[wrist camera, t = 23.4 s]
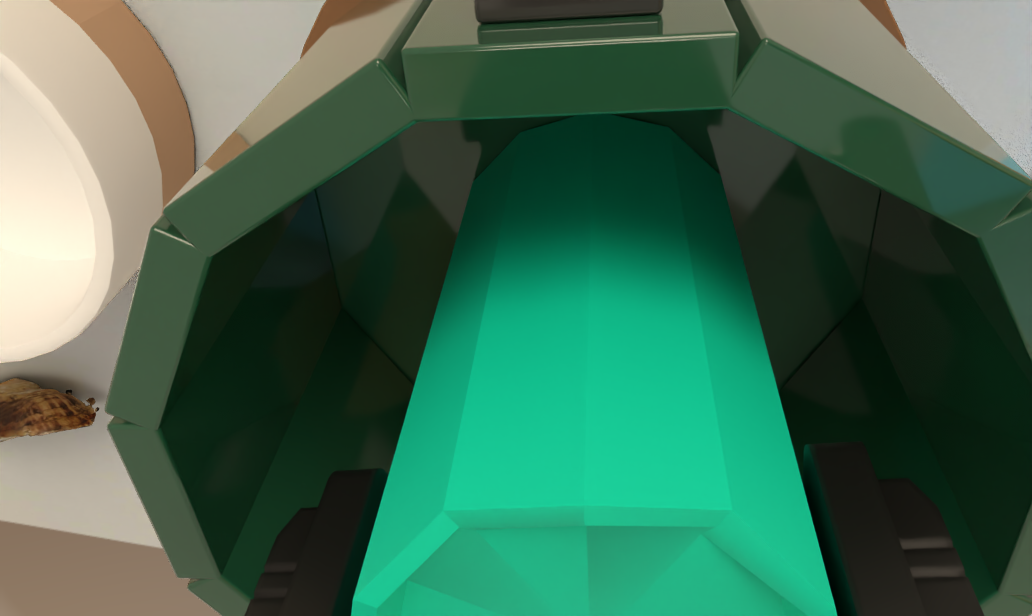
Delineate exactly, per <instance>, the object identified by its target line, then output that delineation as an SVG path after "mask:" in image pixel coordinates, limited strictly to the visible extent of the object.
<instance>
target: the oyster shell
mask: <svg viewBox="0 0 1032 616" xmlns="http://www.w3.org/2000/svg"><path fill="white" fill-rule="evenodd" d="M71 393H72V390H66V394H65V393H60V392H59V391H57V390H55V389H41V388H40V387H39V385H37V384H36V383H34V382H30V381H26V380H23V379H20V378H14V379H11V380H8V381H6V382H3V383H0V442H3V441H6V440H9V439H13V438H15V437H22V436H27V435H29V436H35V435H38V436H43V435H45V434H50V433H54V432H59V431H65V430H71V429H77V428H81V427H86V426H90V425H92V424H93V422H94V419H95V416H96V412H97V411H99V408H98V407H97V408H96V409H95V412H94V409H93V408H92V405H93V404H95V399H94V398H89V399H88V400H86V401H87V402H88V403H90V405H88V406H85V403H83V402H82V401H80V400H78V399H77V398H76V397H74V396H73V395H71Z"/></svg>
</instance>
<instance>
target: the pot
mask: <svg viewBox="0 0 1032 616" xmlns="http://www.w3.org/2000/svg"><path fill="white" fill-rule="evenodd" d="M592 114H611V115H615V116H620V117H624V118H629V119H634V120H638V121H643V122H647V123H652V124H656V125H661V126H666V127H669V128H670V129H671V130H672V131H673V132H674V133H675V134H677V135H678V136H679V137H680V138H681V139H682V140H683V141H684V142H685V143H686V144H687V145H688V146H690V147H691V148H692V149H693V150H694V151H695V152H696V153H697V154H698V155H699V156H700V157H701V158H702V159H704V160H705V161H706V162H707V163H708V164H709V165H710V166H711V167H712V168H713V169H714V170H715V171H716V172H718V173H719V174H720V175H721V178H722V182H723V186H724V189H725V193H726V197H727V201H728V205H729V208H730V212H731V216H732V220H733V223H734V227H735V231H736V235H737V238H738V242H739V246H740V250H741V253H742V257H743V261H744V265H745V269H746V272H747V276H748V280H749V284H750V287H751V291H752V295H753V299H754V302H755V306H756V310H757V314H758V318H759V321H760V325H761V329H762V333H763V336H764V340H765V344H766V348H767V351H768V355H769V359H770V363H771V366H772V370H773V374H774V378H775V382H776V385H777V389H778V393H779V397H780V400H781V404H782V408H783V412H784V415H785V419H786V423H787V427H788V430H789V434H790V438H791V442H792V446H793V449H794V453H795V457H796V461H797V464H798V468H799V472H800V476H801V479H802V483H803V458H804V447H805V445H806V444H821V443H838V442H855V441H861V442H863V444H864V445H865V447H866V449H867V452H868V455H869V457H870V460H871V463H872V466H873V468H874V471H875V474H876V477H877V479H896V478H909V479H910V480H911V481H912V482H913V483H914V484H915V485H916V486H917V487H918V488H919V489H920V490H921V491H922V492H923V493H924V494H925V495H926V496H927V497H928V498H929V499H930V500H932V501H933V502H934V503H935V504H936V505H937V506H938V508H939V511H940V513H941V515H942V518H943V520H944V522H945V525H946V527H947V529H948V532H949V534H950V536H951V539H952V541H953V547H954V548H956V550H957V553H958V555H959V557H960V560H961V562H962V564H963V567H964V569H965V575H966V577H968V578H969V581H970V583H971V585H972V588H973V590H974V592H975V595H976V597H977V599H978V602H979V604H980V606H981V609H982V611H983V613H984V616H1030V615H1031V614H1032V179H1031V178H1030V177H1029V176H1028V175H1027V174H1026V173H1025V172H1024V170H1023V169H1022V168H1021V167H1020V166H1019V165H1018V164H1017V163H1016V162H1015V161H1014V160H1013V159H1012V158H1011V157H1010V156H1009V155H1008V154H1007V153H1006V152H1005V151H1004V150H1003V149H1002V148H1001V147H1000V146H999V145H998V144H997V143H996V142H995V141H994V140H993V138H992V137H991V136H990V135H989V134H988V133H987V132H986V131H985V130H984V129H983V128H982V127H981V126H980V125H979V124H978V123H977V122H976V121H975V120H974V119H973V118H972V117H971V116H970V115H969V114H968V113H967V112H966V111H965V110H964V109H963V108H962V106H961V105H960V104H959V103H958V102H957V101H956V100H955V99H954V98H953V97H952V96H951V95H950V94H949V93H948V92H947V91H946V90H945V89H944V88H943V87H942V86H941V85H940V84H939V83H938V82H937V81H936V80H935V79H934V78H933V77H932V76H931V74H930V73H929V72H928V71H927V70H926V69H925V68H924V67H923V66H922V65H921V64H920V63H919V62H918V61H917V60H916V59H915V58H914V57H913V56H912V55H911V54H910V53H909V52H908V51H907V50H906V49H905V48H904V47H903V46H902V45H901V44H900V42H899V41H898V40H897V39H896V38H895V37H894V36H893V35H892V34H891V33H890V32H889V31H888V30H887V29H886V28H885V27H884V26H883V25H882V24H881V23H880V22H879V21H878V20H877V19H876V18H875V17H874V16H873V15H872V14H871V13H870V11H869V10H868V9H867V8H866V7H865V6H864V5H863V4H862V3H861V2H860V1H859V0H363V1H361V2H360V3H359V4H357V5H356V6H355V7H353V8H352V9H351V10H349V11H348V12H347V13H345V14H344V15H343V16H341V17H340V18H339V19H337V20H336V21H335V22H334V23H333V24H332V25H331V26H330V27H329V28H328V30H327V31H326V32H325V33H324V34H323V35H322V36H321V37H320V38H319V39H318V40H317V42H316V43H315V44H314V45H313V46H312V47H311V48H310V49H309V50H308V51H307V52H306V54H305V55H304V56H303V57H302V58H301V59H300V60H299V61H298V62H297V63H296V64H295V65H294V67H293V68H292V69H291V70H290V71H289V72H288V73H287V74H286V75H285V76H284V77H283V79H282V80H281V81H280V82H279V83H278V84H277V85H276V86H275V87H274V88H273V89H272V91H271V92H270V93H269V94H268V95H267V96H266V97H265V98H264V99H263V100H262V101H261V103H260V104H259V105H258V106H257V107H256V108H255V109H254V110H253V111H252V112H251V113H250V114H249V116H248V117H247V118H246V119H245V120H244V121H243V122H242V123H241V124H240V125H239V126H238V128H237V129H236V130H235V131H234V132H233V133H232V134H231V135H230V136H229V137H228V138H227V140H226V141H225V142H224V143H223V144H222V145H221V146H220V147H219V148H218V149H217V150H216V152H215V153H214V154H213V155H212V156H211V157H210V158H209V159H208V160H207V161H206V162H205V163H204V165H203V166H202V167H201V168H200V169H199V170H198V171H197V172H196V173H195V174H194V175H193V177H192V178H191V179H190V180H189V181H188V182H187V183H186V184H185V185H184V186H183V187H182V189H181V190H180V191H179V192H178V193H177V194H176V195H175V196H174V197H173V198H172V199H171V201H170V202H169V203H168V204H167V205H166V206H165V207H164V209H163V214H162V215H161V217H160V218H159V219H158V220H157V221H156V222H155V223H154V224H153V225H152V226H151V228H150V230H149V234H148V238H147V242H146V246H145V250H144V254H143V258H142V262H141V266H140V270H139V274H138V278H137V282H136V286H135V290H134V294H133V297H132V301H131V305H130V309H129V313H128V317H127V321H126V325H125V329H124V333H123V337H122V341H121V345H120V349H119V353H118V357H117V361H116V365H115V369H114V373H113V377H112V381H111V385H110V389H109V393H108V397H107V401H106V405H105V412H106V413H107V414H109V415H112V416H113V417H112V419H111V420H110V421H109V423H108V425H107V430H108V432H109V434H110V436H111V438H112V440H113V443H114V445H115V447H116V449H117V451H118V453H119V455H120V458H121V460H122V462H123V464H124V466H125V468H126V470H127V472H128V475H129V477H130V479H131V481H132V483H133V485H134V487H135V490H136V492H137V494H138V496H139V498H140V500H141V502H142V505H143V507H144V509H145V511H146V513H147V515H148V517H149V520H150V522H151V524H152V526H153V528H154V530H155V532H156V534H157V537H158V539H159V541H160V543H161V545H162V547H163V549H164V551H165V554H166V556H167V558H168V560H169V562H170V564H171V567H172V569H173V571H174V573H175V575H176V576H177V577H178V578H181V579H190V581H189V583H188V586H187V589H188V590H189V591H190V592H191V593H192V594H194V595H195V596H196V597H198V598H199V599H200V600H201V601H203V602H204V603H205V604H207V605H208V606H209V607H210V608H212V609H213V610H214V611H216V612H217V613H218V614H220V615H221V616H244V615H245V613H246V611H247V608H248V606H249V603H250V601H251V599H254V591H255V588H256V586H257V583H258V581H259V578H260V576H261V574H262V573H264V571H265V568H264V566H265V564H266V561H267V559H268V556H269V554H270V551H271V549H272V546H273V544H274V541H275V539H276V536H277V535H278V534H279V533H280V532H281V530H282V529H283V528H284V527H285V526H286V525H287V523H288V522H289V521H290V520H291V519H292V518H293V516H294V515H295V514H296V513H297V512H298V511H299V509H300V508H311V507H318V505H319V503H320V500H321V497H322V495H323V492H324V489H325V486H326V484H327V481H328V479H329V477H330V475H331V474H332V473H333V472H335V471H344V470H360V469H377V468H383V469H384V470H385V471H386V472H387V474H388V475H389V472H390V468H391V465H392V461H393V458H394V454H395V451H396V447H397V444H398V441H399V437H400V434H401V430H402V427H403V423H404V420H405V416H406V413H407V409H408V406H409V402H410V399H411V395H412V392H413V388H414V385H415V381H416V378H417V374H418V371H419V367H420V364H421V360H422V357H423V354H424V350H425V347H426V343H427V340H428V336H429V333H430V329H431V326H432V322H433V319H434V315H435V312H436V308H437V305H438V301H439V298H440V294H441V291H442V287H443V284H444V280H445V277H446V273H447V270H448V266H449V263H450V260H451V256H452V253H453V249H454V246H455V242H456V239H457V235H458V232H459V228H460V225H461V221H462V218H463V214H464V211H465V207H466V204H467V200H468V197H469V193H470V190H471V186H472V183H473V181H474V180H475V179H476V178H477V177H478V176H479V175H480V174H481V173H482V172H483V171H484V170H485V169H486V168H487V167H488V166H489V165H490V164H491V163H492V161H493V160H494V159H495V158H496V157H497V156H498V155H499V154H500V153H501V152H502V151H503V150H504V149H505V148H506V147H507V146H508V145H509V144H510V142H511V141H512V140H513V139H514V138H515V137H516V136H517V135H518V134H519V133H520V132H523V131H526V130H529V129H533V128H536V127H540V126H543V125H546V124H550V123H553V122H557V121H560V120H564V119H567V118H570V117H574V116H577V115H592Z"/></svg>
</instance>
